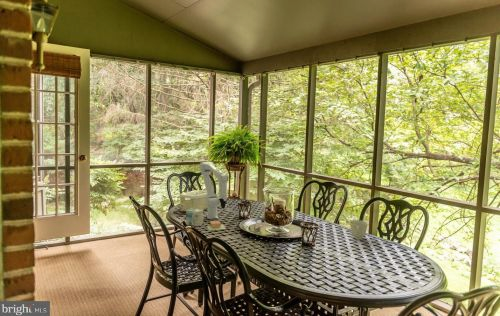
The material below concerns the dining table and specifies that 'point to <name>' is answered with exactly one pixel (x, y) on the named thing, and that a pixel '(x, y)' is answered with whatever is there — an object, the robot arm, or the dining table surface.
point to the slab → (215, 224)
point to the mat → (215, 228)
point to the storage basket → (193, 200)
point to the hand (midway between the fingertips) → (223, 208)
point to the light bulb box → (194, 217)
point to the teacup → (358, 228)
